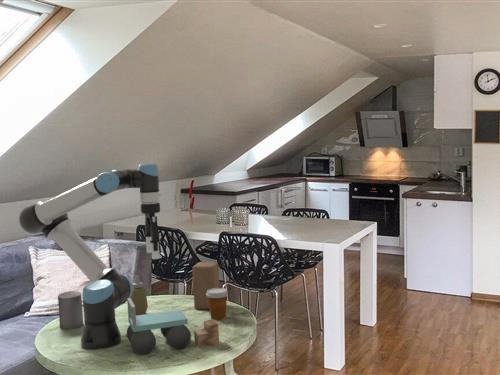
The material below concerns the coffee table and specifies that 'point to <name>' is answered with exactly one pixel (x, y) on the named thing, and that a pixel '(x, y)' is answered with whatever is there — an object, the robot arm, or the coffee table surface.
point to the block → (204, 282)
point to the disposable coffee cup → (217, 302)
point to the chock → (207, 334)
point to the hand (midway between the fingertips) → (152, 255)
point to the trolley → (167, 321)
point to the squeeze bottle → (139, 297)
